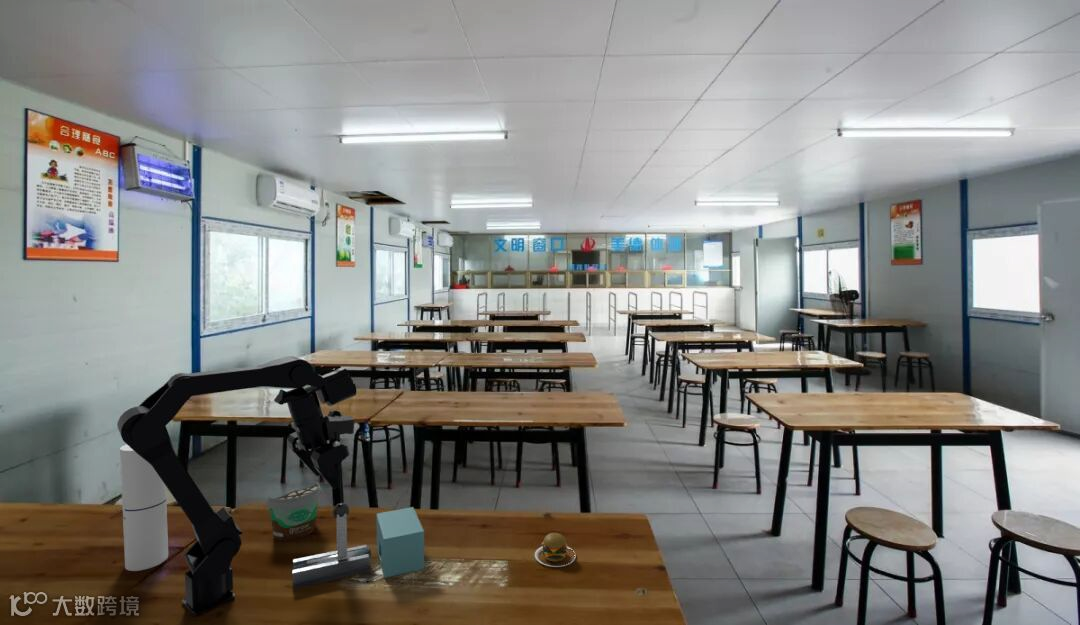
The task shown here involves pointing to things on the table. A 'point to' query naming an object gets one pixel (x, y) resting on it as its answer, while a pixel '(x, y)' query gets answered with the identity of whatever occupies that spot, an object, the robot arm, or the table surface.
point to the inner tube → (340, 539)
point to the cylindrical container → (142, 512)
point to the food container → (294, 513)
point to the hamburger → (553, 549)
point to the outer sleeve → (328, 568)
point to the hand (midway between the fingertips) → (327, 481)
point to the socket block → (400, 542)
